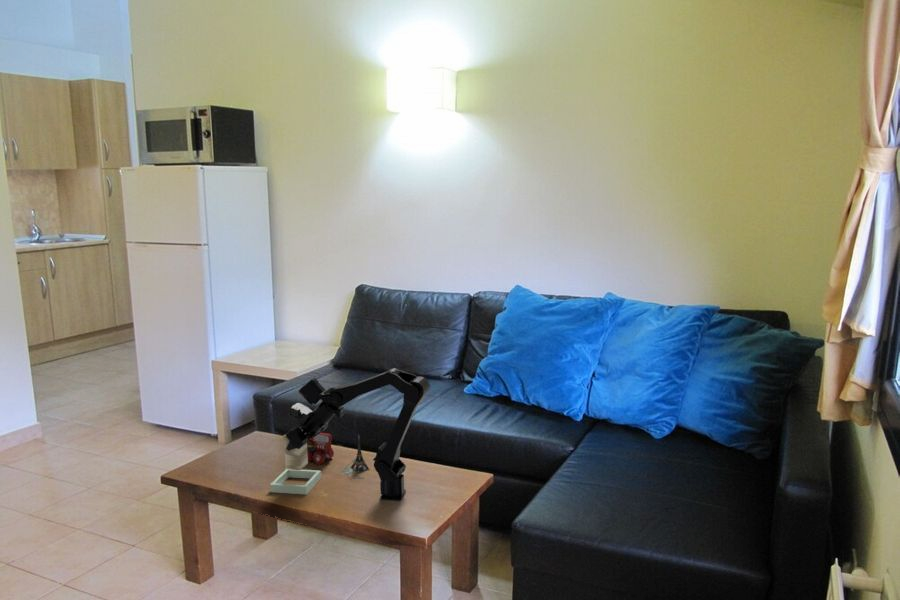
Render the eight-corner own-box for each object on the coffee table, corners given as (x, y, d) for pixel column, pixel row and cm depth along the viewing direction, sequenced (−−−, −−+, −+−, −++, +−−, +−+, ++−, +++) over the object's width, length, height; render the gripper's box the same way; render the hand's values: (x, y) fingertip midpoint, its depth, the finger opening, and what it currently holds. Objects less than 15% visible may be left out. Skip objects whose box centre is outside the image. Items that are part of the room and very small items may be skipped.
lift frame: (321, 477, 219) (320, 470, 219) (306, 494, 207) (306, 486, 207) (286, 475, 222) (286, 468, 221) (270, 492, 209) (270, 484, 209)
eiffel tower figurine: (354, 460, 235) (353, 423, 233) (381, 462, 233) (380, 426, 231) (335, 477, 221) (333, 438, 219) (363, 480, 218) (362, 441, 216)
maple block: (308, 463, 215) (306, 431, 214) (299, 470, 210) (297, 436, 208) (294, 462, 217) (292, 429, 215) (285, 469, 211) (283, 435, 210)
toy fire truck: (309, 453, 241) (308, 426, 239) (337, 459, 235) (336, 430, 234) (297, 460, 235) (295, 432, 233) (326, 466, 229) (324, 437, 228)
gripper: (317, 388, 218) (289, 418, 222) (289, 405, 200) (259, 438, 204) (341, 413, 217) (311, 442, 221) (314, 432, 199) (283, 464, 203)
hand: (291, 446), depth 213 cm, fingers closed on maple block, 5 cm apart
